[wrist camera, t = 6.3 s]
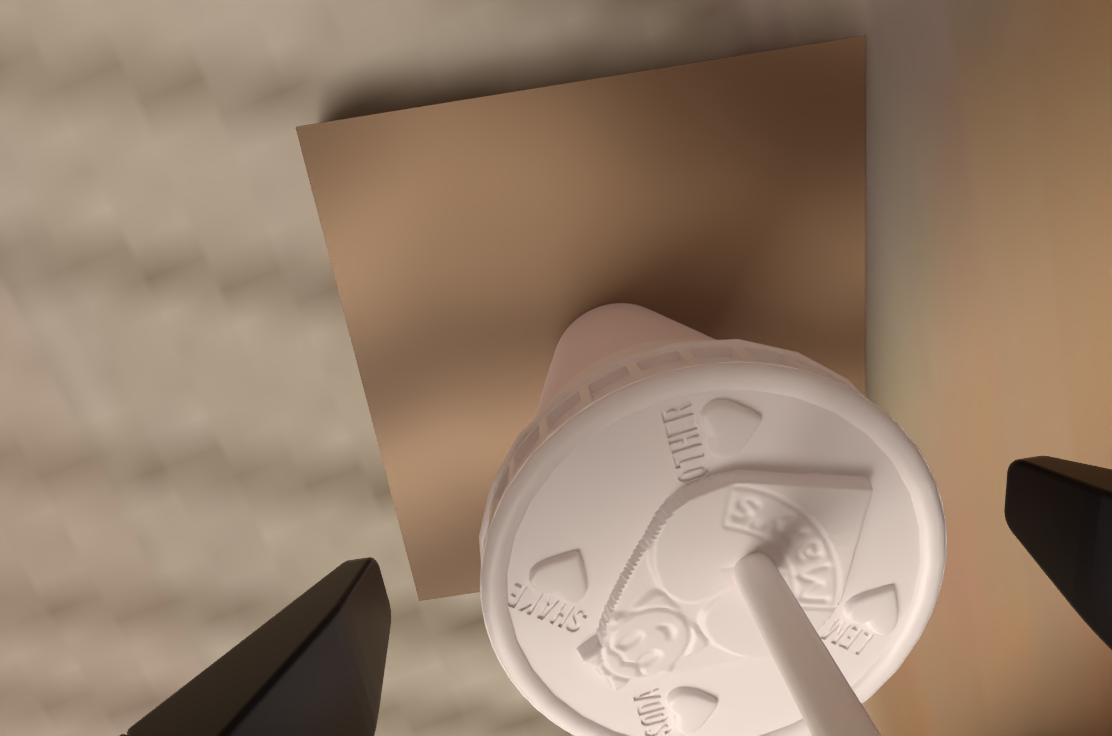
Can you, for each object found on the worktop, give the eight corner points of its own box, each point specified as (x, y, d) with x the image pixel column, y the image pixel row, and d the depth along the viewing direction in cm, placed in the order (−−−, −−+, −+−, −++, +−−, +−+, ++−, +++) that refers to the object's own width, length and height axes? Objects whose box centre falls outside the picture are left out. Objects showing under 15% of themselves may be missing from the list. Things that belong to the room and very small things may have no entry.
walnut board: (842, 509, 21) (865, 534, 20) (426, 571, 21) (419, 600, 20) (837, 46, 17) (866, 35, 15) (315, 130, 17) (295, 126, 15)
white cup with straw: (776, 381, 18) (1498, 1006, 5) (599, 512, 19) (766, 1333, 6) (640, 201, 16) (1148, 357, 3) (454, 355, 17) (201, 993, 4)
